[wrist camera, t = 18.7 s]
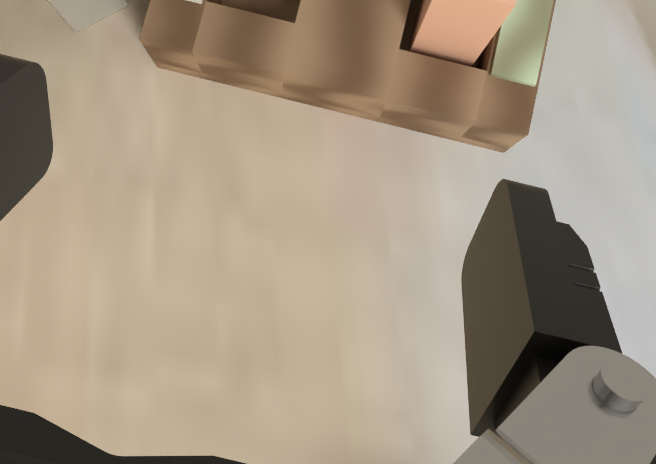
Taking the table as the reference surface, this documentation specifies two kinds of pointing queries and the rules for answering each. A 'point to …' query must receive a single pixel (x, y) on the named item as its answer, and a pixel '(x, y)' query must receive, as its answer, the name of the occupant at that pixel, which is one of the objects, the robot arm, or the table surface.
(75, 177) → the table surface
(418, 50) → the peg
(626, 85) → the table surface
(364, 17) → the slot holder
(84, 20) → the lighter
